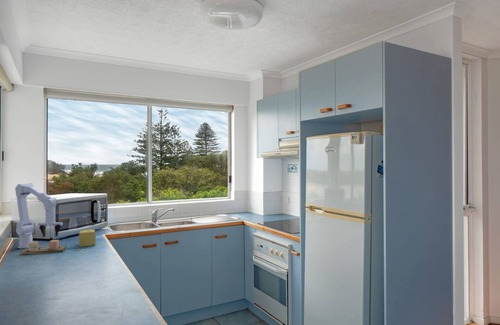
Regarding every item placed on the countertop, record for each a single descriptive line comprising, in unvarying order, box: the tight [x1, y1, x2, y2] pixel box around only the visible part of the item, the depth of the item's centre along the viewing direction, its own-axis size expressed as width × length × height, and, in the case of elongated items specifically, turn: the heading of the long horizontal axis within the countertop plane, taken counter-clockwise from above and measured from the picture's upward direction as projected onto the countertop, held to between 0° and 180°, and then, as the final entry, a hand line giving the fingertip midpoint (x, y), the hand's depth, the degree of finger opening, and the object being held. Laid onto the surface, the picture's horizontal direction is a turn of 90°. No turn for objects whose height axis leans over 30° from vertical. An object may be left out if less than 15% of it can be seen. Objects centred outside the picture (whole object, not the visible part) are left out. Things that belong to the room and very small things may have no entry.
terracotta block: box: [48, 239, 60, 250], centre depth 231 cm, size 4×4×6 cm
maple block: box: [29, 240, 39, 251], centre depth 227 cm, size 4×4×6 cm
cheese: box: [78, 228, 97, 248], centre depth 248 cm, size 10×11×10 cm
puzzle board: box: [20, 245, 67, 256], centre depth 229 cm, size 11×24×2 cm, turn 109°
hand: (50, 236), depth 232 cm, fingers open, 7 cm apart
